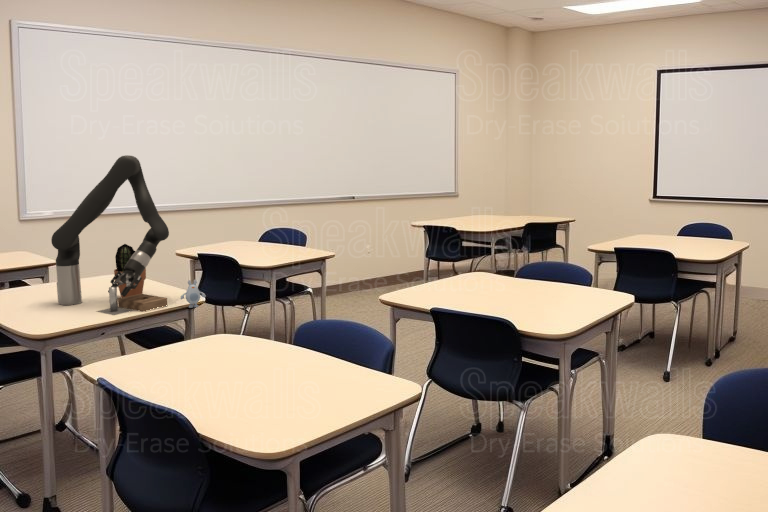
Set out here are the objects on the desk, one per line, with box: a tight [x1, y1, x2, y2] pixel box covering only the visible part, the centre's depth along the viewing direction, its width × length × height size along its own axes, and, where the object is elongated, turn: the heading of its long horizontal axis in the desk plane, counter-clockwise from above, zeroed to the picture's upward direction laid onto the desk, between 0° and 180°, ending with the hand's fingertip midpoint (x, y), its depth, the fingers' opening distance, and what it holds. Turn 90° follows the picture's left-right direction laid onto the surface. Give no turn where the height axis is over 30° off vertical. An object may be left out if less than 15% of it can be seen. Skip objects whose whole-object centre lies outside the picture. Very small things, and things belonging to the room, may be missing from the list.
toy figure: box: [179, 279, 207, 309], centre depth 294 cm, size 11×6×12 cm, turn 114°
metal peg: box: [108, 286, 119, 312], centre depth 285 cm, size 3×3×10 cm
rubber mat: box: [95, 307, 131, 316], centre depth 286 cm, size 12×9×1 cm
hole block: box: [117, 293, 168, 312], centre depth 294 cm, size 17×12×4 cm
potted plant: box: [113, 243, 147, 298], centre depth 312 cm, size 14×14×25 cm
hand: (116, 294), depth 286 cm, fingers open, 8 cm apart
